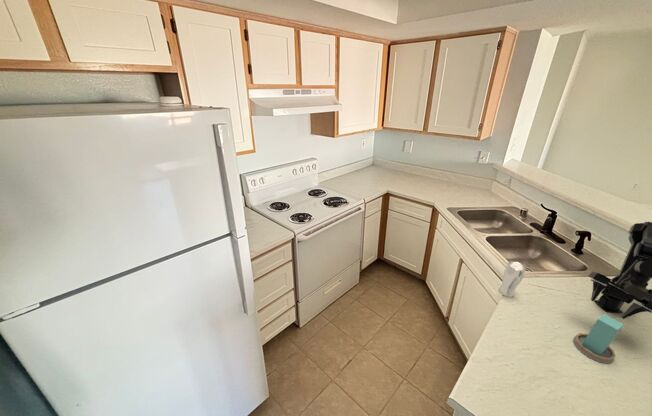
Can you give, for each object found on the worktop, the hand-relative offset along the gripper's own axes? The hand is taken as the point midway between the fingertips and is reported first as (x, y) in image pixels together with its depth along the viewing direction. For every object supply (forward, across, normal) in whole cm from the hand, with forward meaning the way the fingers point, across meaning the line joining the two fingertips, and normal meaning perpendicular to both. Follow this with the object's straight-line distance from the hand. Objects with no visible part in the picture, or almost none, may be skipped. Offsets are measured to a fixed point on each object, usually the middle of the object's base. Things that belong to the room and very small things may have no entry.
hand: (606, 309), depth 96 cm
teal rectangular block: (+14, +2, -5) cm, 15 cm away
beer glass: (+16, -25, +10) cm, 31 cm away
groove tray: (+15, +3, -5) cm, 16 cm away
